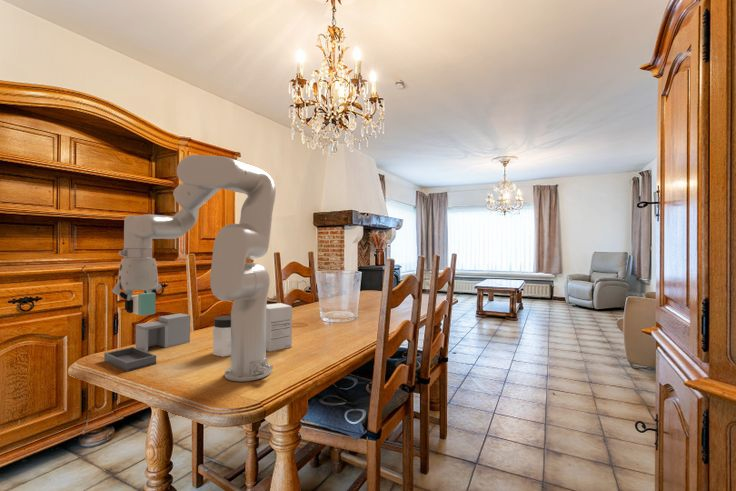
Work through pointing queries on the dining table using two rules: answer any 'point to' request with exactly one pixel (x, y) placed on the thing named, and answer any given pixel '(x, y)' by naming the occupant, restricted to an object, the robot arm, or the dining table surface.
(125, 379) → the dining table surface
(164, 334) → the bay
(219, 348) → the jar
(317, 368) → the dining table surface
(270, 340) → the supplement box
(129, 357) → the tray
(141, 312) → the teal-capped white block
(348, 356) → the dining table surface
